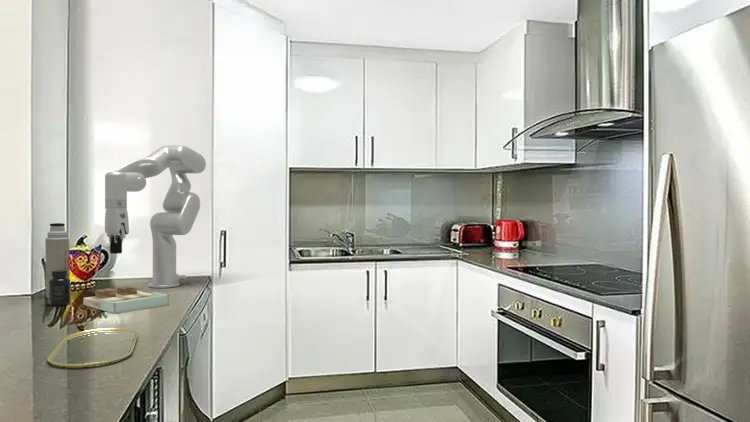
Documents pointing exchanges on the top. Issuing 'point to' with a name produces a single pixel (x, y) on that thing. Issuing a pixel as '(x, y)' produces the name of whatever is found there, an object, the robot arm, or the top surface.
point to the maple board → (113, 299)
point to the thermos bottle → (56, 252)
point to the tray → (135, 303)
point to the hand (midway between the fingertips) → (116, 253)
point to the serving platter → (64, 340)
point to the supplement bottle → (59, 288)
